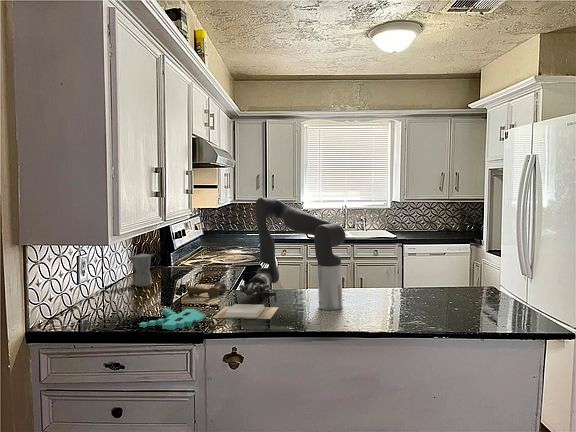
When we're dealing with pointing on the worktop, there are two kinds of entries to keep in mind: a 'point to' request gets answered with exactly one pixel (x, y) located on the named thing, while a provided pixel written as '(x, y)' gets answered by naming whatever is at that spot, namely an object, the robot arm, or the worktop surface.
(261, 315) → the tan flat rectangular board
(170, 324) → the alien figure
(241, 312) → the tile
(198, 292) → the kendama
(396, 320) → the worktop surface
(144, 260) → the coffeepot
